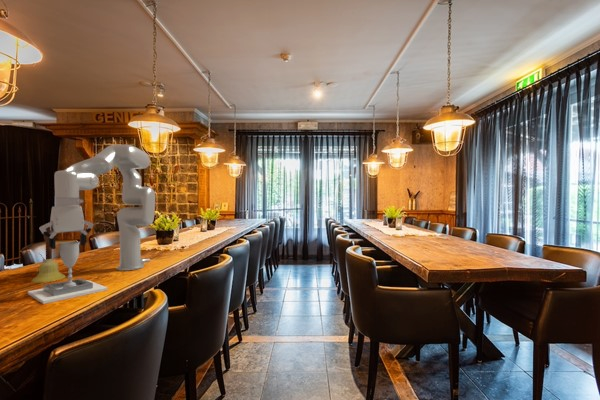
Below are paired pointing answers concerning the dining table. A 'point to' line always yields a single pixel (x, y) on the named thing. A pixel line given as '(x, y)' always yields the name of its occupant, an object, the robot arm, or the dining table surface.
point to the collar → (54, 290)
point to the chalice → (69, 258)
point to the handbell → (48, 266)
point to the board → (48, 298)
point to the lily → (43, 260)
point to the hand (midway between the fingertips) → (68, 246)
